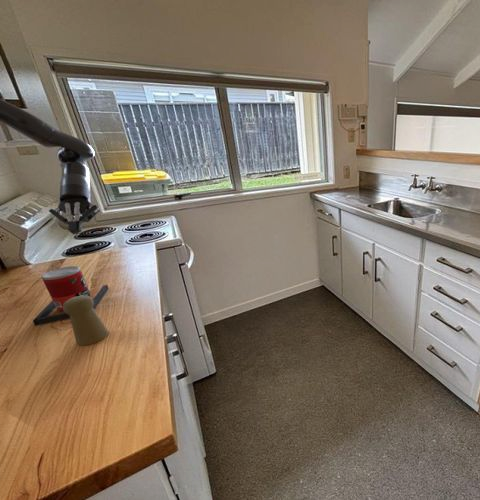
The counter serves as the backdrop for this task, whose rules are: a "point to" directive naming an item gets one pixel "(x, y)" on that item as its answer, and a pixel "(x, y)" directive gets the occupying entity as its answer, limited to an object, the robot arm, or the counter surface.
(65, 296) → the canned food
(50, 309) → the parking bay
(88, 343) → the cork
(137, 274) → the counter surface
